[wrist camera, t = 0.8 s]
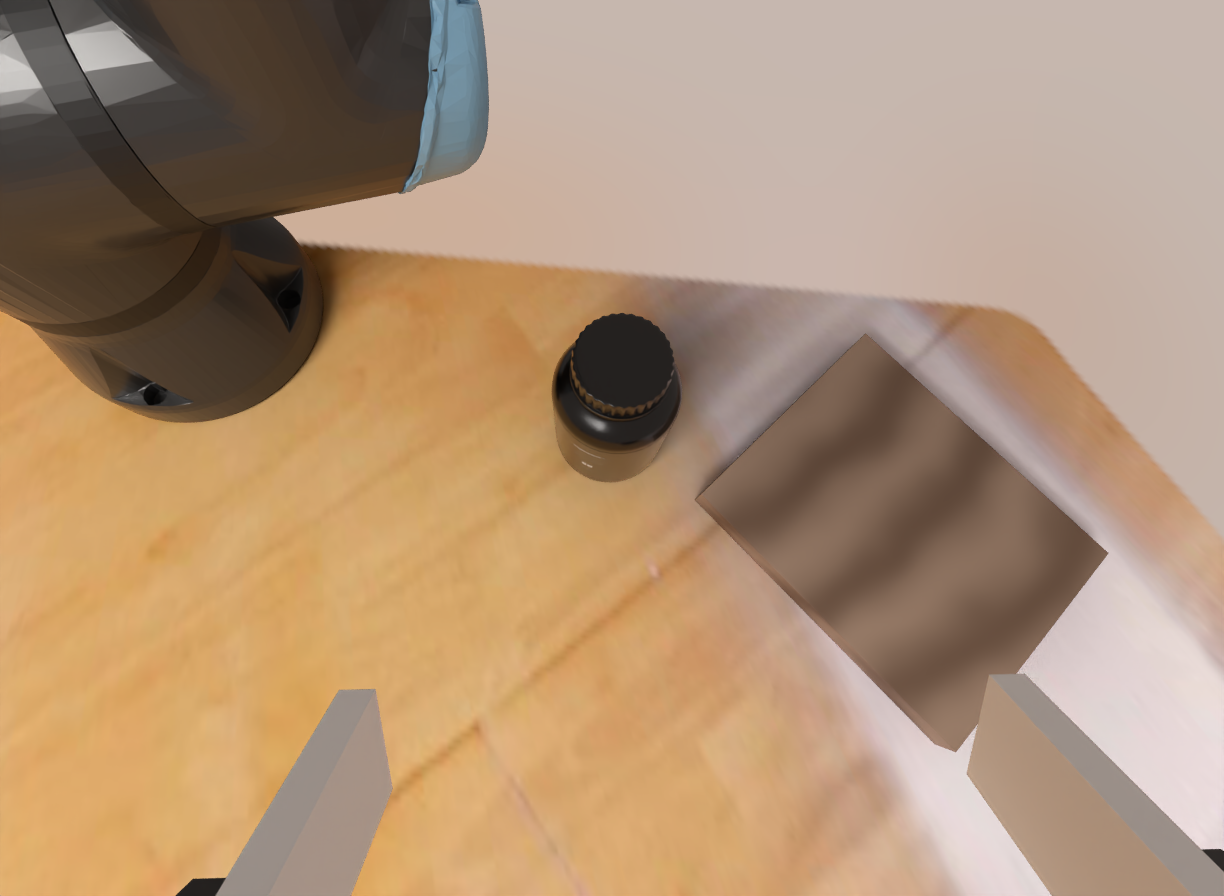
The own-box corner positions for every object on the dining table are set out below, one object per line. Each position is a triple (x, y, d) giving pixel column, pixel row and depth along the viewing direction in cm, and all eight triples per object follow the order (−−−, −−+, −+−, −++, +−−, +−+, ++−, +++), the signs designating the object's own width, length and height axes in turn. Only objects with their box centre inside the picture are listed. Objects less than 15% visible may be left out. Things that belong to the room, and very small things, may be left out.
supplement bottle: (534, 440, 38) (517, 368, 26) (600, 364, 40) (611, 266, 28) (617, 505, 37) (636, 461, 26) (680, 426, 39) (725, 350, 27)
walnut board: (694, 500, 38) (701, 494, 36) (852, 346, 41) (865, 333, 39) (934, 743, 35) (955, 752, 33) (1081, 555, 38) (1108, 553, 36)
